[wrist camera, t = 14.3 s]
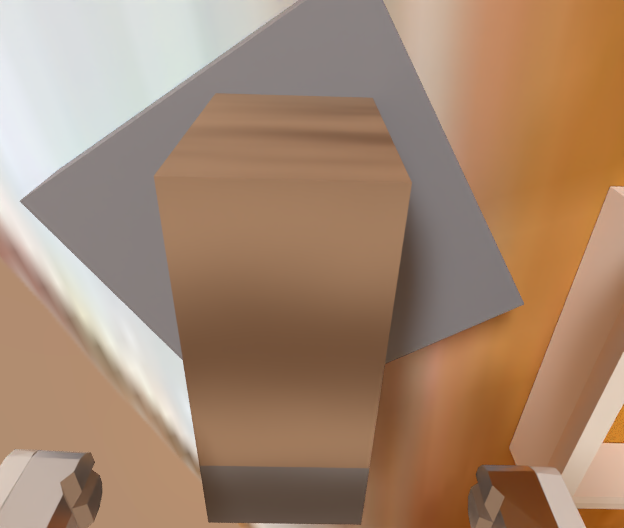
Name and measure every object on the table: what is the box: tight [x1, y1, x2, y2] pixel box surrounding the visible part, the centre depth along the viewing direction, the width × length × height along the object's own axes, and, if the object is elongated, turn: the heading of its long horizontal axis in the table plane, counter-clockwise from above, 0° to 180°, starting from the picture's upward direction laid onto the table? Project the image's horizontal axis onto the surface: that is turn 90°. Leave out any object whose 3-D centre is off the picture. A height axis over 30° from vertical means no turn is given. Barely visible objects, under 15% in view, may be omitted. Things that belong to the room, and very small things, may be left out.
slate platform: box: [20, 0, 524, 364], centre depth 20 cm, size 14×14×3 cm
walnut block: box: [154, 93, 412, 525], centre depth 15 cm, size 12×5×7 cm, turn 178°
